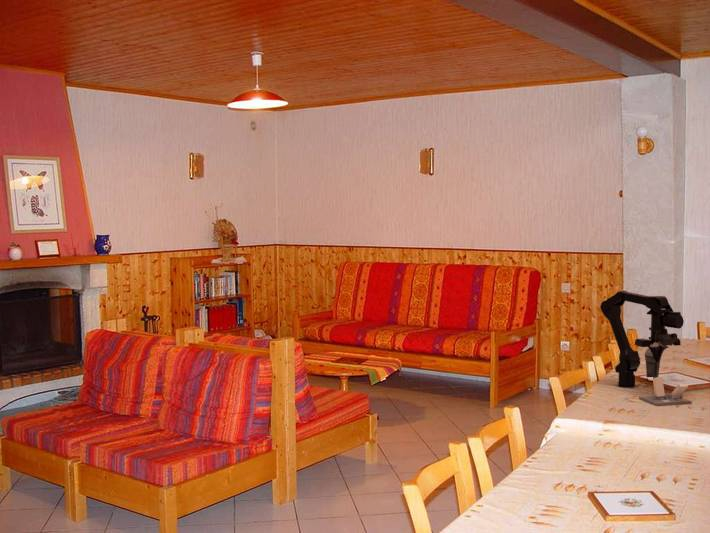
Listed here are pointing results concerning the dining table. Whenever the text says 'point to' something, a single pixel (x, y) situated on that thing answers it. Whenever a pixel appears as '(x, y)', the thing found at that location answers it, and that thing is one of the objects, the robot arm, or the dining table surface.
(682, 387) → the marked lever
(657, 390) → the unmarked lever
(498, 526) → the dining table surface
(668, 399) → the switch unit
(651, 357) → the beverage cup
